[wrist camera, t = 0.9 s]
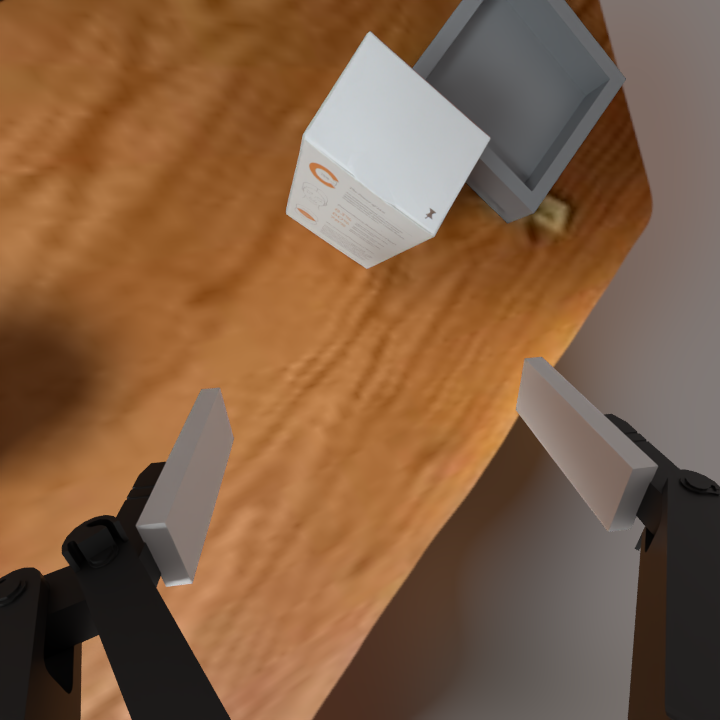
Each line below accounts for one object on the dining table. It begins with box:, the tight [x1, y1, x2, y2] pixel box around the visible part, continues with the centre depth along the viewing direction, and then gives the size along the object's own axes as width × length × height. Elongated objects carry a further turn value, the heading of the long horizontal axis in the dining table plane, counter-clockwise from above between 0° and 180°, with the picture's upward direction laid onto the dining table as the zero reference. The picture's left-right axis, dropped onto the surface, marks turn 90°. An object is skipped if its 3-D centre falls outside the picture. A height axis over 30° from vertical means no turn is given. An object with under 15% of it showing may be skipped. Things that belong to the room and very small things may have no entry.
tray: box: [412, 0, 626, 223], centre depth 32 cm, size 14×14×4 cm
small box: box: [286, 31, 490, 269], centre depth 25 cm, size 8×6×13 cm
